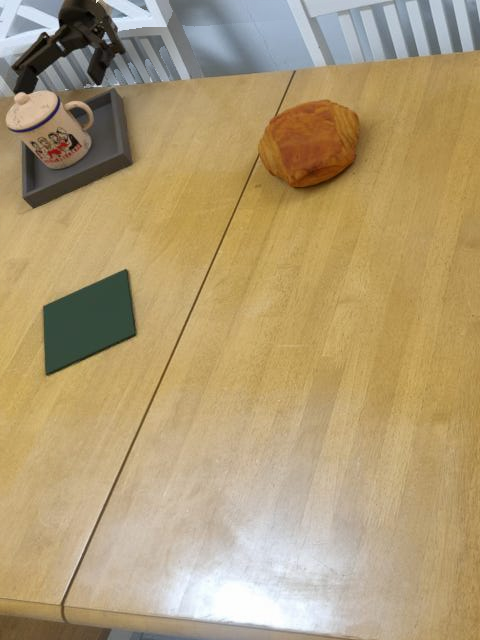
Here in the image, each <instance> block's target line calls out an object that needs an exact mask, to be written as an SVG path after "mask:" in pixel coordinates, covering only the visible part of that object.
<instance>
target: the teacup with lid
mask: <svg viewBox="0 0 480 640" xmlns="http://www.w3.org/2000/svg"><path fill="white" fill-rule="evenodd" d="M13 100H14V104H13V105H12V106H11V107H10V108H9V109H8V111H7V113H6V116H5V123H6V126H7V129H8V130H9V131H10V132H13V133H15V134H16V136H17V137H18V138H19V139H20V140H22V141H23V142H24V143H25V144H26V145H27V146H28V147H29V148H30V149H31V150H32V151H33V152H34V153H35V154H36V155H37V156H38V158H39V159H40V160H41V161H42V162H43V163H44V164H45V165H46V166H47V167H49V168H51V169H63V168H66V167H69V166H71V165H73V164H75V163H77V162H78V161H79V160H81V159H82V158H83V157H84V156H85V155H86V154H87V152H88V151H89V149H90V147H91V142H92V141H91V137H90V136H89V134H88V133H87V132H86V130H87V129H89V128H90V127H91V126H92V124H93V121H94V118H93V113H92V111H91V109H90V108H89V106H88V105H87V104H85V103H83V101H80V100H71V101H69V102H67V103H65V104H64V103H63V102H62V101H61V98H60V96H59V95H58V94H56V93H54V92H53V91H50V90H38V91H34V92H33V93H31V94H28V95H27V94H26V93H23V92H21V93H18V94H17V95H16V94H15V95H14V97H13ZM75 107H79V108H82V109H84V110H85V111H86V112H87V113H88V115H89V119H88V121H87V122H86V123H85V124H83V125H80V124H79V123H78V121H77V120H76V119H75V118H74V117H73V116H72V114H71V113H70V112H69V111H68V110H70V109H72V108H75Z"/></svg>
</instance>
